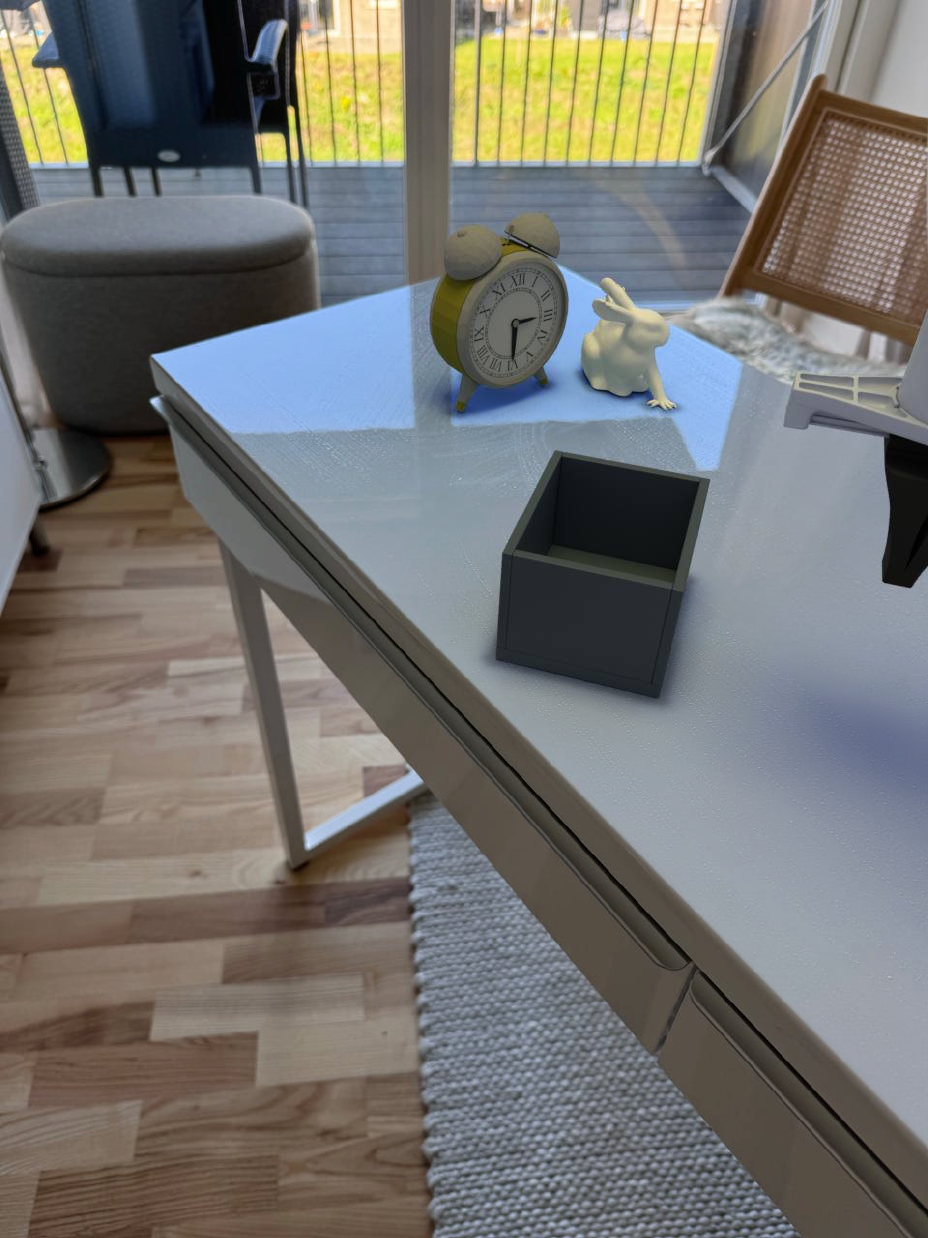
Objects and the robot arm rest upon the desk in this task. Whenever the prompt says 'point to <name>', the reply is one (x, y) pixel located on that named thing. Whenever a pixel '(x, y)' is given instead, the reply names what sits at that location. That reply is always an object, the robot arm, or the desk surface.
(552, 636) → the dark grey storage bin
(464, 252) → the alarm clock
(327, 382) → the desk surface
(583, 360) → the rabbit figurine
